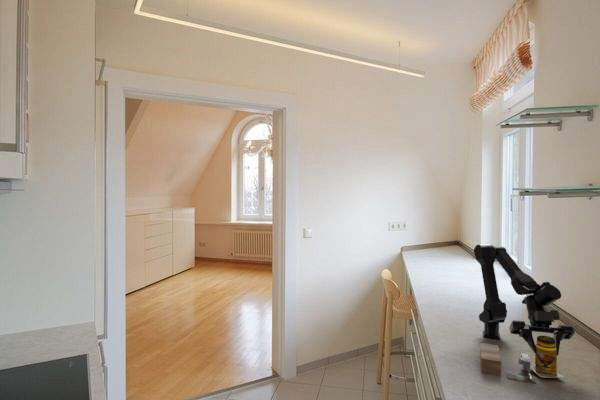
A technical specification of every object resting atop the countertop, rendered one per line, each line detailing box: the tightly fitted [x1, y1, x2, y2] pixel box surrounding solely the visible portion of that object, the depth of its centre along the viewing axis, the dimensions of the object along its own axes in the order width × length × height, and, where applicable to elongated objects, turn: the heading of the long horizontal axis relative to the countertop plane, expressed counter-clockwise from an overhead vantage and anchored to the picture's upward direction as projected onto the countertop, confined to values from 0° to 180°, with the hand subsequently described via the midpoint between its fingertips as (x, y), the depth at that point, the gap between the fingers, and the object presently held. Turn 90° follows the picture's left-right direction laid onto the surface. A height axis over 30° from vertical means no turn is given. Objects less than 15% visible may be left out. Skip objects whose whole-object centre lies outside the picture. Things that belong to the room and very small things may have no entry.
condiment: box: [530, 335, 564, 379], centre depth 127 cm, size 7×8×12 cm
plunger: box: [518, 352, 533, 380], centre depth 128 cm, size 11×3×4 cm, turn 156°
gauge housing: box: [479, 342, 537, 384], centre depth 131 cm, size 15×16×5 cm
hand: (546, 354), depth 126 cm, fingers closed on condiment, 6 cm apart
